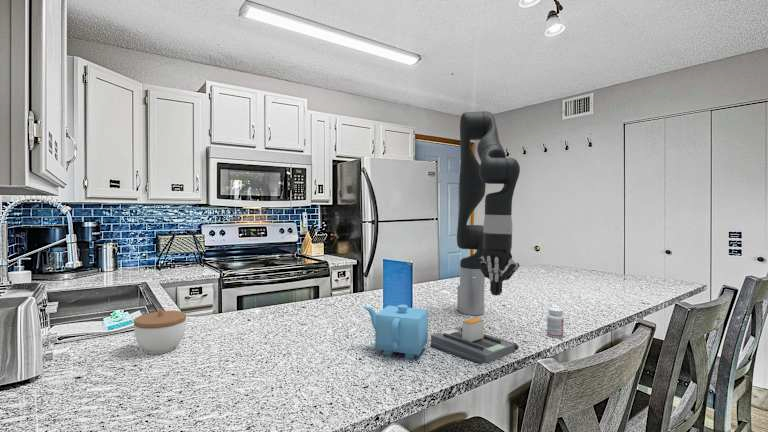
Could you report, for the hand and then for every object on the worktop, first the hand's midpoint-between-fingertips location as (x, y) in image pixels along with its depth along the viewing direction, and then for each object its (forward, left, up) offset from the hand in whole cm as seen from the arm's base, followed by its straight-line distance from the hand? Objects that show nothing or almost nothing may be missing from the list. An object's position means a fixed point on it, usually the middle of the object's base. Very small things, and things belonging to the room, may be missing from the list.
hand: (496, 294), depth 109 cm
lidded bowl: (-59, -71, -17) cm, 94 cm away
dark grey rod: (-8, +9, -17) cm, 21 cm away
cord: (-7, -8, -17) cm, 20 cm away
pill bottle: (+2, +29, -17) cm, 34 cm away
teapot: (-20, -20, -17) cm, 33 cm away
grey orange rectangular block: (-7, 0, -14) cm, 16 cm away
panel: (-8, 0, -17) cm, 19 cm away
